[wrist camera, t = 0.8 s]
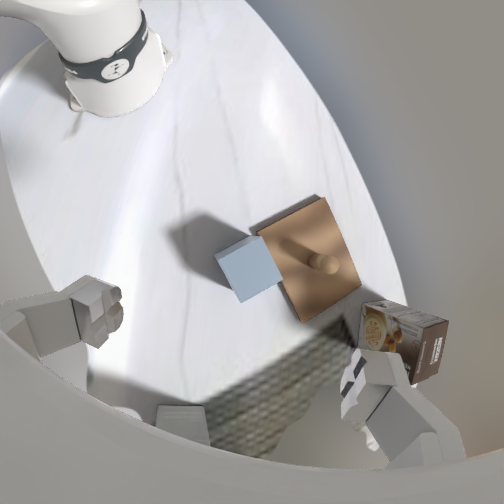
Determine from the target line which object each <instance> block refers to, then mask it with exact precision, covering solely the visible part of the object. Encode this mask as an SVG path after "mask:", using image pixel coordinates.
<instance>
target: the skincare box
mask: <svg viewBox="0 0 504 504" xmlns="http://www.w3.org/2000/svg"><path fill="white" fill-rule="evenodd" d="M155 427H156V428H159V429H161V430H164V431H166V432H169V433H171V434H174V435H177V436H179V437H182V438H185V439H188V440H191V441H194V442H197V443H200V444H203V445H206V446H210V441H209V436H208V430H207V424H206V418H205V411H204V406H170V405H158V408H157V416H156V426H155Z"/></svg>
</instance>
